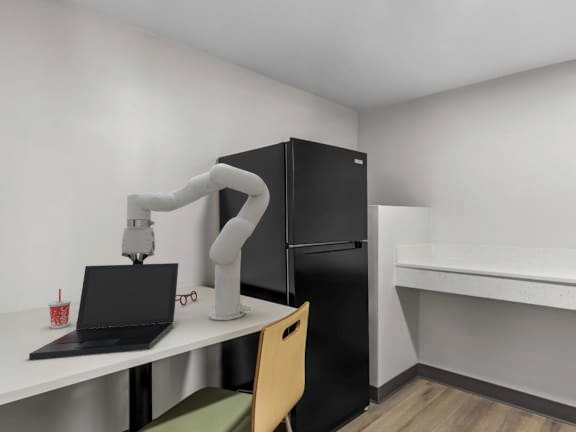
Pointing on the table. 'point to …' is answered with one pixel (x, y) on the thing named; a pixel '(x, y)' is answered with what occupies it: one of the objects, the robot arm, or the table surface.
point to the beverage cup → (59, 313)
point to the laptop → (103, 340)
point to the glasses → (186, 297)
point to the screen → (127, 295)
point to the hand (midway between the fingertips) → (137, 271)
